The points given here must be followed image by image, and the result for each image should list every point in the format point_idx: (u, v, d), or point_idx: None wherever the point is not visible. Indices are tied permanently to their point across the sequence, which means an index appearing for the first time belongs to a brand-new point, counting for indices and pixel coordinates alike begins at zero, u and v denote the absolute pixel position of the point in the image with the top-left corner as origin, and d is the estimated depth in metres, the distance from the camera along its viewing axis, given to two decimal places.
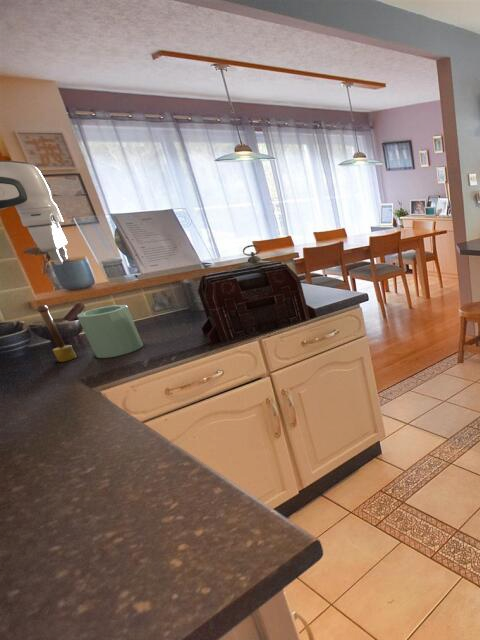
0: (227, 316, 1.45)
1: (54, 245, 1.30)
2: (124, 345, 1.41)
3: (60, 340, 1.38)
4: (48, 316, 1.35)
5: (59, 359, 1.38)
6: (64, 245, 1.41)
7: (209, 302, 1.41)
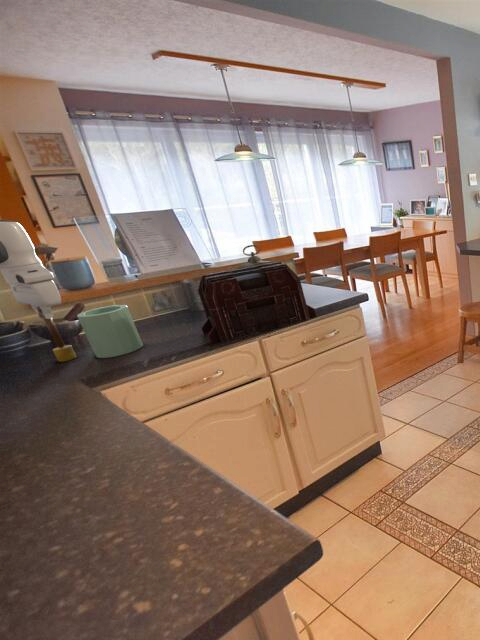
0: (227, 316, 1.45)
1: (60, 299, 1.30)
2: (124, 345, 1.41)
3: (60, 340, 1.38)
4: None
5: (59, 359, 1.38)
6: None
7: (209, 302, 1.41)
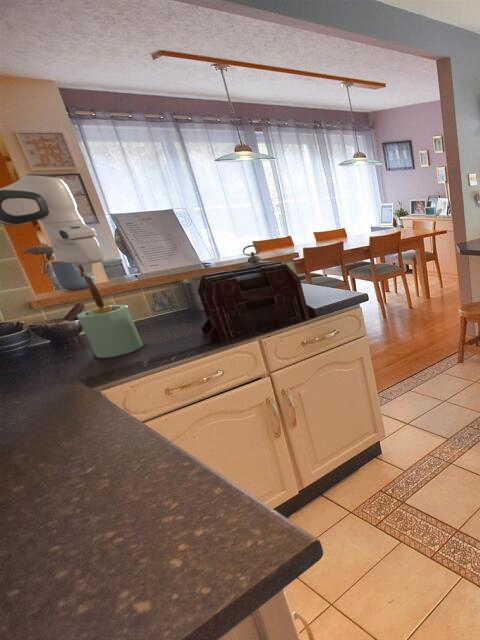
0: (227, 316, 1.45)
1: (102, 256, 1.31)
2: (124, 345, 1.41)
3: (100, 299, 1.38)
4: None
5: None
6: None
7: (209, 302, 1.41)
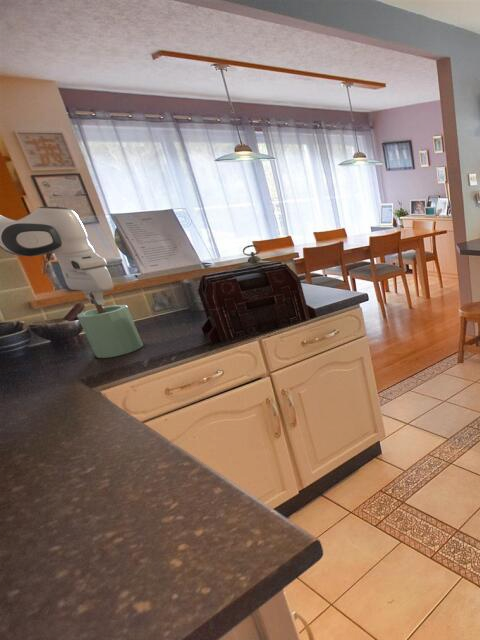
0: (227, 316, 1.45)
1: (112, 285, 1.34)
2: (124, 345, 1.41)
3: None
4: None
5: None
6: None
7: (209, 302, 1.41)
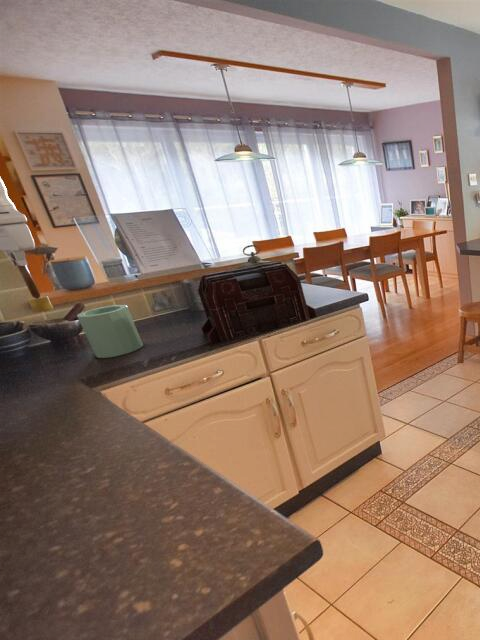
0: (227, 316, 1.45)
1: (33, 243, 1.24)
2: (124, 345, 1.41)
3: (35, 289, 1.32)
4: None
5: (34, 310, 1.32)
6: None
7: (209, 302, 1.41)
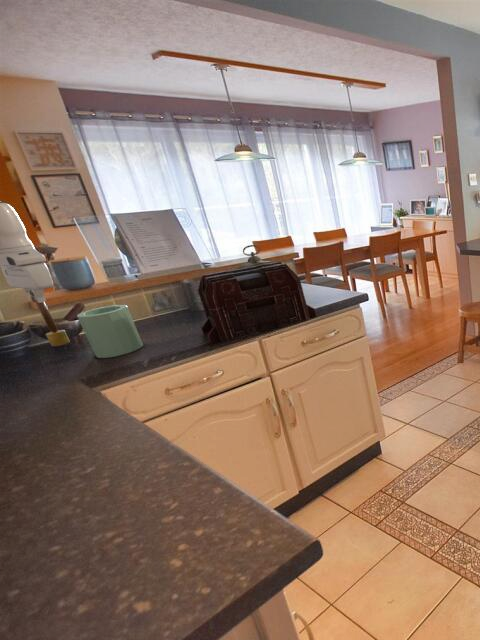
0: (227, 316, 1.45)
1: (52, 282, 1.29)
2: (124, 345, 1.41)
3: (53, 324, 1.36)
4: None
5: (52, 344, 1.37)
6: None
7: (209, 302, 1.41)
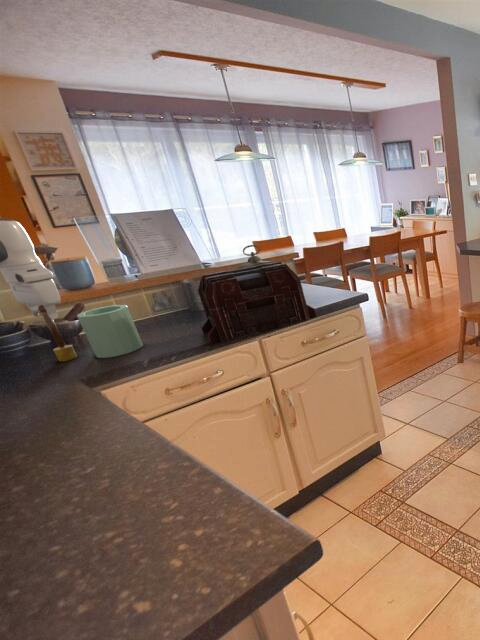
0: (227, 316, 1.45)
1: (59, 298, 1.30)
2: (124, 345, 1.41)
3: (61, 340, 1.38)
4: None
5: (60, 359, 1.39)
6: None
7: (209, 302, 1.41)
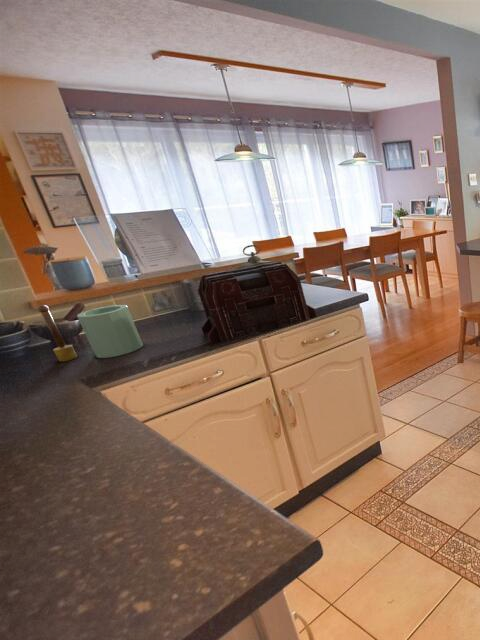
0: (227, 316, 1.45)
1: None
2: (124, 345, 1.41)
3: (61, 340, 1.38)
4: (49, 316, 1.35)
5: (60, 359, 1.39)
6: None
7: (209, 302, 1.41)
